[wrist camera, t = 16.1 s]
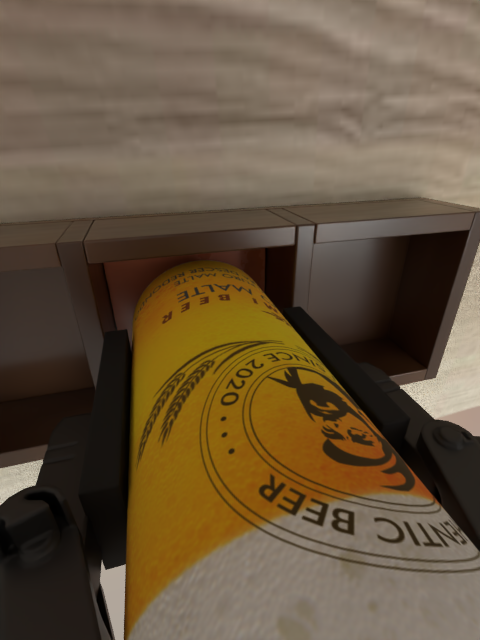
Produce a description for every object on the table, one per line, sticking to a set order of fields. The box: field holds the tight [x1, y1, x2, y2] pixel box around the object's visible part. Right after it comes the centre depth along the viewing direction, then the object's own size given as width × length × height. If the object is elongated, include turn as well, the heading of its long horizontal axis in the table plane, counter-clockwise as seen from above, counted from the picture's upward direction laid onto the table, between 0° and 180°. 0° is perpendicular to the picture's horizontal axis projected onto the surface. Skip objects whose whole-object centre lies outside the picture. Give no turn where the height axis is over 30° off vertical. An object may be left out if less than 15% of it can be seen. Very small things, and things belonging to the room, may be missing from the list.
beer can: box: [124, 260, 480, 640], centre depth 10 cm, size 6×6×15 cm
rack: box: [0, 198, 480, 468], centre depth 16 cm, size 26×9×4 cm, turn 92°
